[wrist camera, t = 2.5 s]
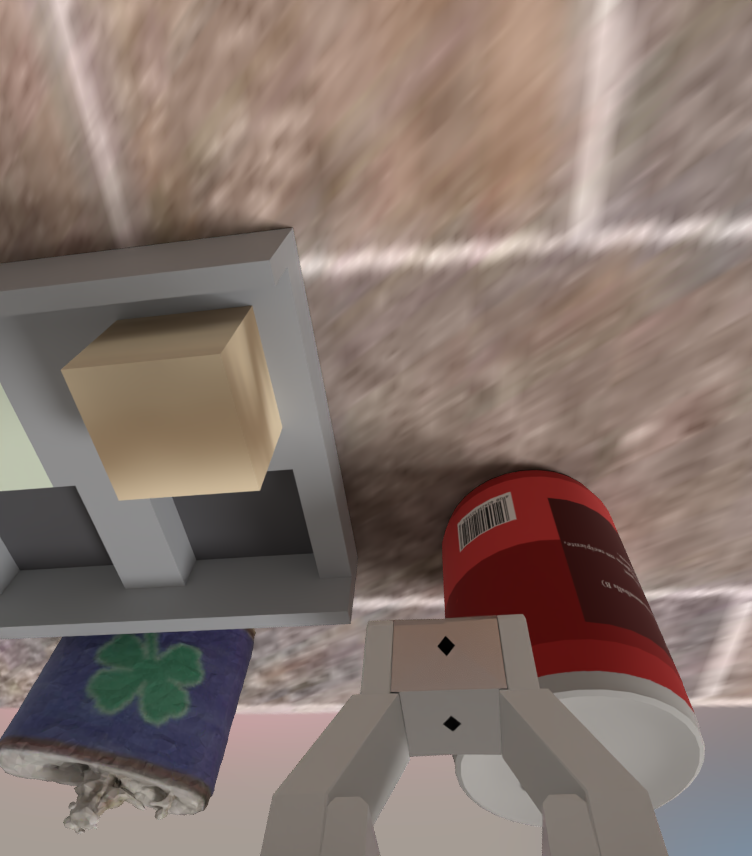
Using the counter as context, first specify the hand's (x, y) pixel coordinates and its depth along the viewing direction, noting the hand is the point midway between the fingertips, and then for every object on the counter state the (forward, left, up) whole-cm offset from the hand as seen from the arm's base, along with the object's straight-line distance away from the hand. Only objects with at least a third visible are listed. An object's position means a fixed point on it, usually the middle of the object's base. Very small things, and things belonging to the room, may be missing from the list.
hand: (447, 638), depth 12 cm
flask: (+14, -15, -14) cm, 25 cm away
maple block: (-1, -8, -12) cm, 15 cm away
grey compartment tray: (+3, -15, -14) cm, 21 cm away
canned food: (+10, +4, -14) cm, 18 cm away
